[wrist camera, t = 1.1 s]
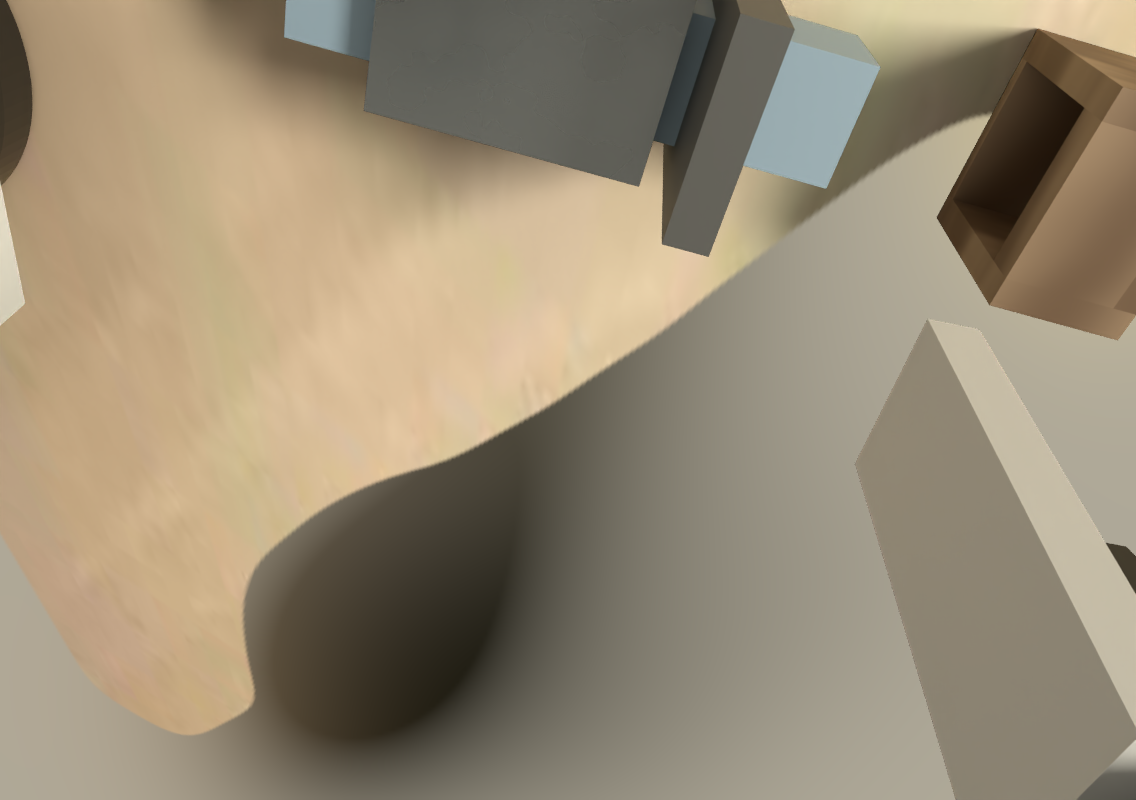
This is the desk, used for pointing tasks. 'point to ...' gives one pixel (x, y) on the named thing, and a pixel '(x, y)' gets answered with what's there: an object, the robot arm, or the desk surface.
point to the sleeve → (532, 74)
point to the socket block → (1055, 190)
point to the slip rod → (708, 100)
